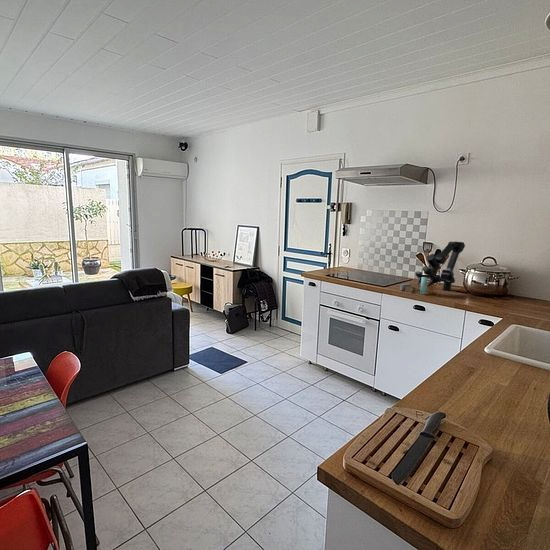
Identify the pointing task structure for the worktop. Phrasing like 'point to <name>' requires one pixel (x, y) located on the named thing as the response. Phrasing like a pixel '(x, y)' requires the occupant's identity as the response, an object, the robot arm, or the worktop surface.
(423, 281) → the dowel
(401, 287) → the backstop
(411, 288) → the block
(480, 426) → the worktop surface
